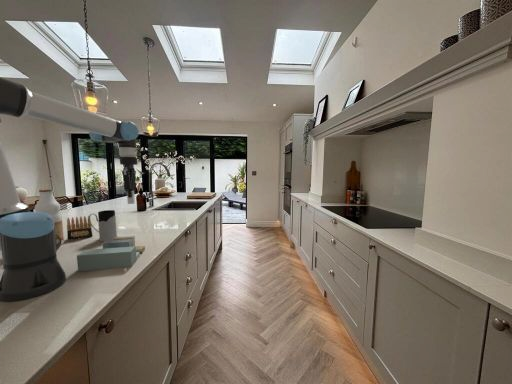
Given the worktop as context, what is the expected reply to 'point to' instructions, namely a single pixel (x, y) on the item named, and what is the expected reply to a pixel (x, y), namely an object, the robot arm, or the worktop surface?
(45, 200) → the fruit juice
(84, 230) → the ammunition clip
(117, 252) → the block
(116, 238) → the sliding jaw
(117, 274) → the worktop surface
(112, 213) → the grey mug
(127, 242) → the steel block
